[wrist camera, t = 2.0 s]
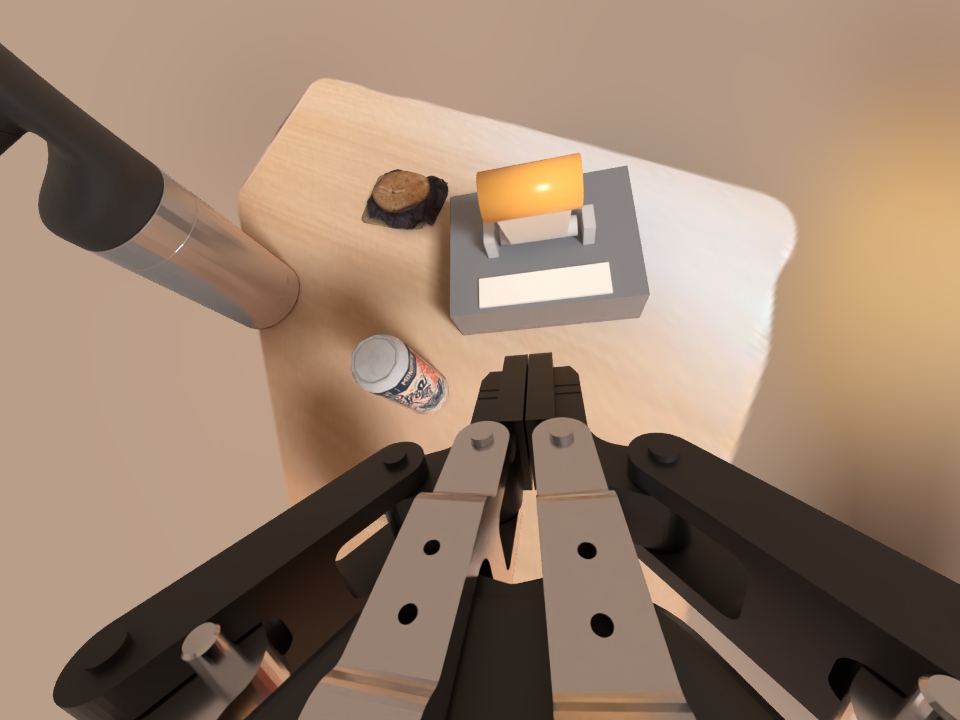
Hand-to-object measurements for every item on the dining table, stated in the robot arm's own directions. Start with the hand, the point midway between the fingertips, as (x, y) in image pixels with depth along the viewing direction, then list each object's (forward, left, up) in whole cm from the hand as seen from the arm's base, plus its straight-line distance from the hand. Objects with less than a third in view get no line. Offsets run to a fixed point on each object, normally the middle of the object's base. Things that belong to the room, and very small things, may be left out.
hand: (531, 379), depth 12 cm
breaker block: (-5, +18, -25) cm, 31 cm away
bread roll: (-24, +26, -25) cm, 43 cm away
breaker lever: (-5, +18, -18) cm, 26 cm away
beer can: (-14, +2, -25) cm, 29 cm away
